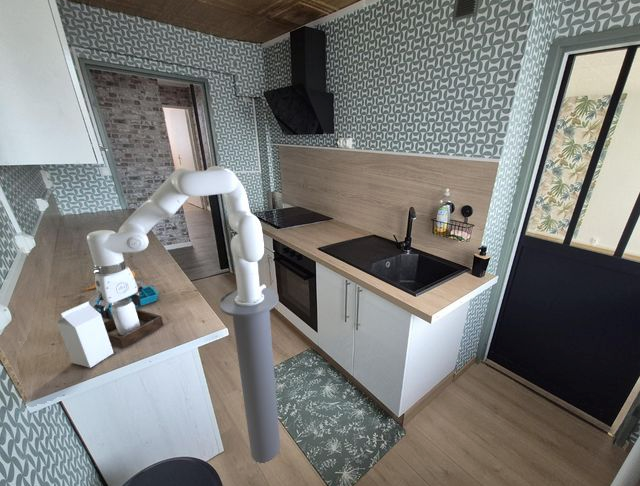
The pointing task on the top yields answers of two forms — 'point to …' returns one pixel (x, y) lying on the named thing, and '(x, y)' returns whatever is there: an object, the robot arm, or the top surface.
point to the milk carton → (84, 335)
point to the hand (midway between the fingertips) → (123, 311)
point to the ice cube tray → (141, 297)
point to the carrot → (95, 285)
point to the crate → (127, 339)
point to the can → (125, 316)
